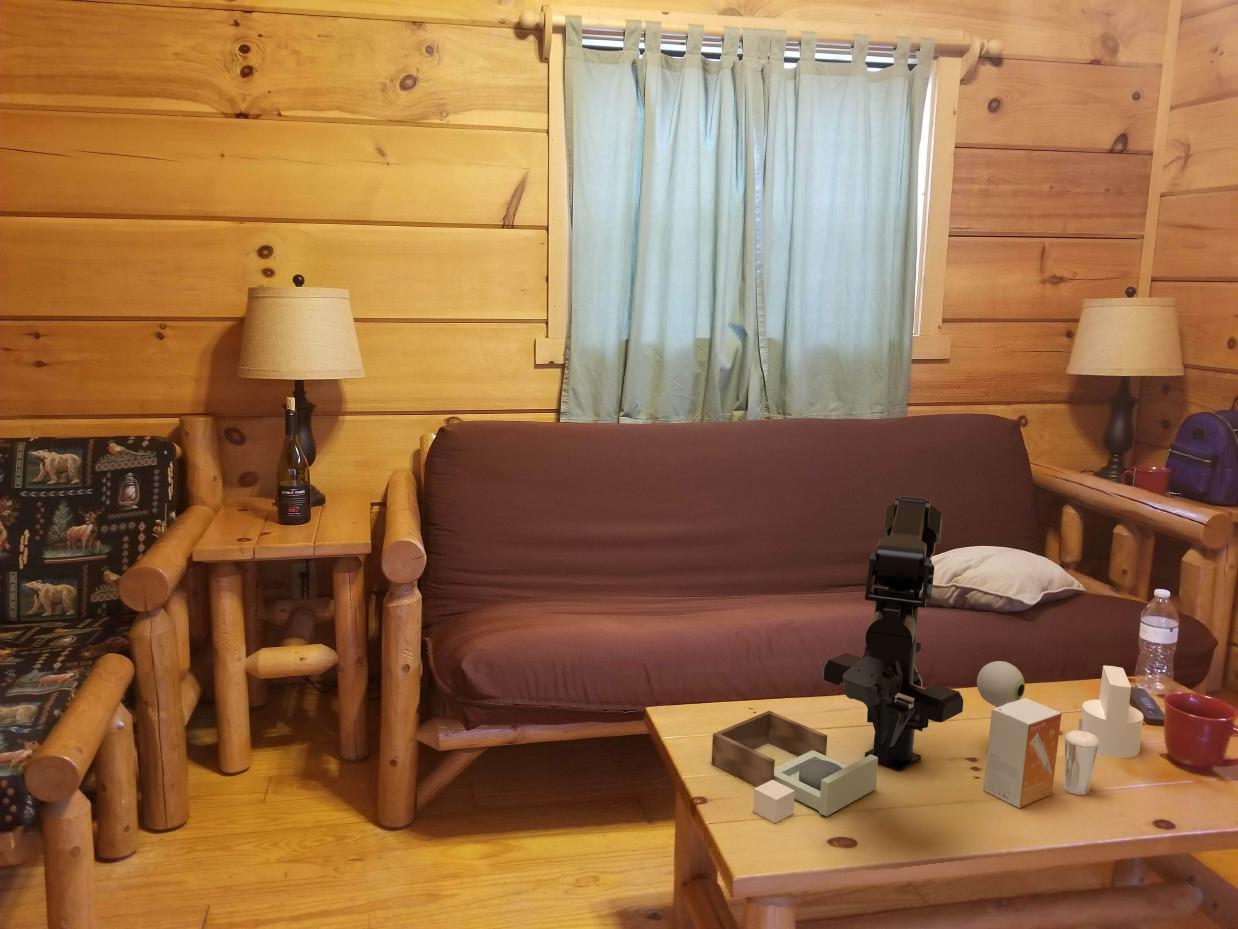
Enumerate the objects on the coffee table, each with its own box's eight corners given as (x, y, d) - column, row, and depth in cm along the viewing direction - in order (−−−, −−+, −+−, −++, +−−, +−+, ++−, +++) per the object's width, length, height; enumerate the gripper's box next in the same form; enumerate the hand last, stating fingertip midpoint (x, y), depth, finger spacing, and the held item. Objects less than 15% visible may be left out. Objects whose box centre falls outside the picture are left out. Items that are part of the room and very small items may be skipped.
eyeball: (1003, 766, 155) (1013, 674, 152) (962, 749, 160) (970, 661, 157) (1025, 752, 159) (1035, 664, 157) (984, 737, 165) (992, 651, 162)
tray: (763, 785, 146) (765, 753, 145) (813, 761, 154) (815, 731, 153) (826, 816, 138) (828, 783, 137) (875, 789, 146) (878, 757, 145)
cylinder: (816, 768, 150) (817, 755, 150) (852, 784, 146) (853, 771, 145) (789, 781, 146) (790, 768, 146) (825, 798, 141) (826, 785, 141)
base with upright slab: (1143, 762, 157) (1152, 690, 155) (1081, 752, 160) (1089, 682, 158) (1134, 738, 166) (1142, 670, 163) (1075, 729, 168) (1083, 662, 166)
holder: (711, 764, 153) (712, 733, 152) (767, 739, 162) (769, 710, 161) (769, 793, 145) (771, 761, 144) (825, 765, 153) (827, 735, 152)
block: (771, 802, 142) (772, 779, 141) (793, 813, 139) (794, 790, 138) (752, 811, 139) (754, 788, 139) (775, 823, 136) (776, 800, 136)
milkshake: (1090, 783, 150) (1097, 721, 148) (1094, 800, 145) (1102, 736, 143) (1057, 778, 151) (1064, 716, 150) (1060, 794, 146) (1068, 731, 145)
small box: (1019, 810, 142) (1028, 724, 139) (982, 790, 147) (990, 708, 145) (1053, 795, 146) (1062, 712, 144) (1015, 777, 151) (1024, 696, 149)
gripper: (801, 630, 135) (795, 737, 138) (923, 671, 122) (913, 789, 124) (849, 613, 143) (842, 715, 145) (970, 651, 129) (959, 762, 132)
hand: (885, 744), depth 137 cm, fingers closed
